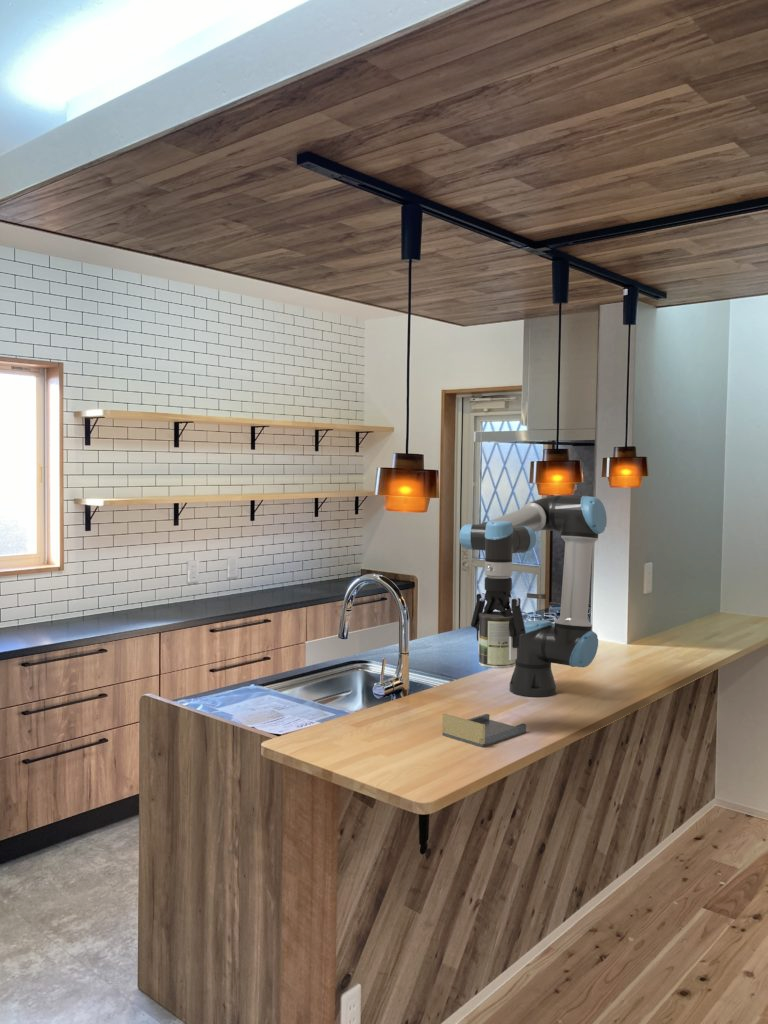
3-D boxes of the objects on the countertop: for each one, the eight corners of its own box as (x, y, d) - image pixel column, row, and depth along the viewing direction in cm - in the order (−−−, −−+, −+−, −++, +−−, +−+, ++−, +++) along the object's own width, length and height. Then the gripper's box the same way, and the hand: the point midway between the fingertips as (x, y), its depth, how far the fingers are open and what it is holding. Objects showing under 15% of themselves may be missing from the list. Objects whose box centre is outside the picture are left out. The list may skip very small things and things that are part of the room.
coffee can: (471, 664, 237) (471, 614, 237) (491, 658, 245) (492, 609, 244) (503, 670, 231) (503, 618, 230) (522, 664, 239) (523, 613, 238)
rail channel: (486, 721, 246) (486, 701, 246) (526, 732, 236) (526, 711, 236) (442, 735, 233) (442, 714, 233) (482, 747, 223) (482, 725, 223)
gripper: (458, 574, 242) (457, 651, 243) (523, 581, 226) (521, 665, 227) (475, 572, 248) (474, 648, 249) (539, 579, 231) (538, 660, 232)
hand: (497, 656), depth 238 cm, fingers closed on coffee can, 10 cm apart
